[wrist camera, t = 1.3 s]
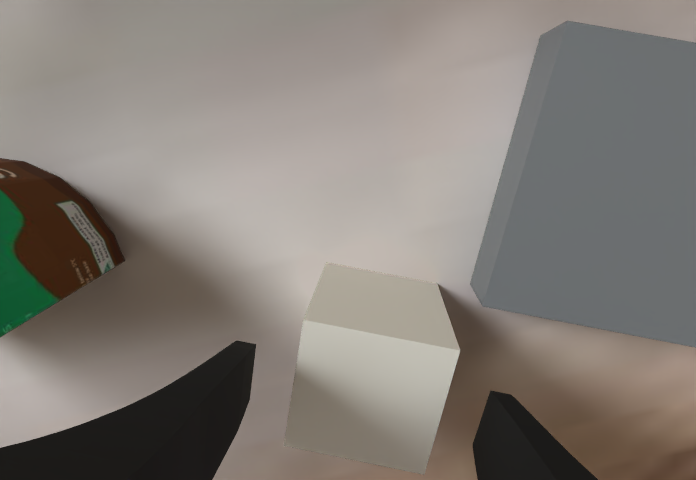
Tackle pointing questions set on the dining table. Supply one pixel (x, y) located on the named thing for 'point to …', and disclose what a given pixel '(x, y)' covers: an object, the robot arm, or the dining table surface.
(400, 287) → the block
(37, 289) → the food container
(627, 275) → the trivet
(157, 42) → the dining table surface
